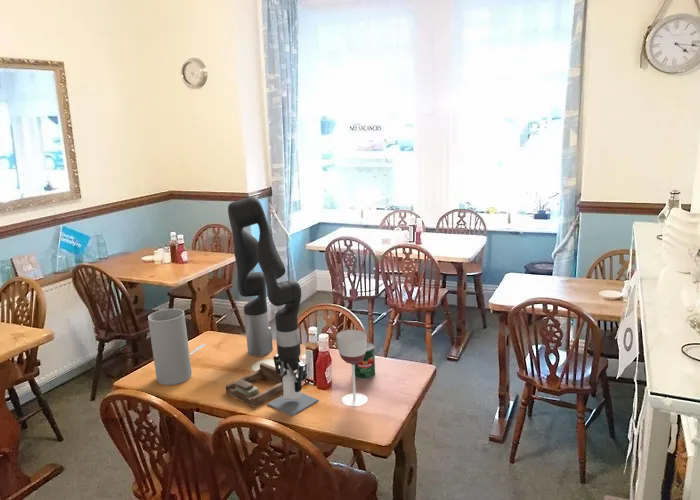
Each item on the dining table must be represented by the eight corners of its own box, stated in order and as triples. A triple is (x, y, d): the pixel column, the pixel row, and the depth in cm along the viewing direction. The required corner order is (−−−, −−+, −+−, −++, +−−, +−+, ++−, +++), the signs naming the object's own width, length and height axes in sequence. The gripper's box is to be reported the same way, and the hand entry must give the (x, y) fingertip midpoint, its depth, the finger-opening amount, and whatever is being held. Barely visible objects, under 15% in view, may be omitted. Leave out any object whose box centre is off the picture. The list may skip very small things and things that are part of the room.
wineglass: (360, 409, 184) (357, 343, 178) (334, 402, 189) (330, 337, 183) (374, 396, 191) (372, 333, 186) (349, 390, 196) (346, 327, 191)
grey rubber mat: (293, 390, 198) (293, 389, 198) (318, 401, 190) (318, 399, 190) (267, 404, 189) (267, 403, 189) (292, 416, 182) (292, 415, 181)
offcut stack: (242, 390, 200) (241, 378, 199) (259, 398, 194) (258, 385, 193) (233, 395, 197) (232, 382, 196) (250, 402, 192) (249, 389, 190)
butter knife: (208, 344, 240) (202, 343, 241) (166, 373, 216) (160, 372, 217) (208, 345, 240) (202, 344, 241) (167, 375, 216) (160, 373, 217)
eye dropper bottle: (295, 402, 186) (292, 369, 183) (281, 398, 189) (279, 365, 186) (303, 397, 190) (300, 363, 187) (289, 393, 193) (287, 360, 190)
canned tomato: (361, 381, 202) (360, 352, 200) (349, 373, 209) (348, 345, 206) (379, 375, 206) (378, 347, 204) (367, 367, 213) (366, 340, 210)
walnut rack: (263, 375, 210) (262, 362, 209) (292, 387, 200) (291, 374, 199) (225, 393, 198) (224, 380, 197) (254, 407, 188) (253, 393, 187)
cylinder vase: (150, 379, 211) (141, 316, 205) (180, 367, 220) (172, 306, 214) (168, 389, 203) (159, 324, 197) (198, 376, 212) (190, 313, 205)
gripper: (312, 342, 182) (315, 390, 187) (281, 332, 192) (285, 378, 196) (295, 350, 177) (298, 399, 181) (264, 339, 186) (268, 386, 190)
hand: (291, 388), depth 189 cm, fingers closed on eye dropper bottle, 5 cm apart
